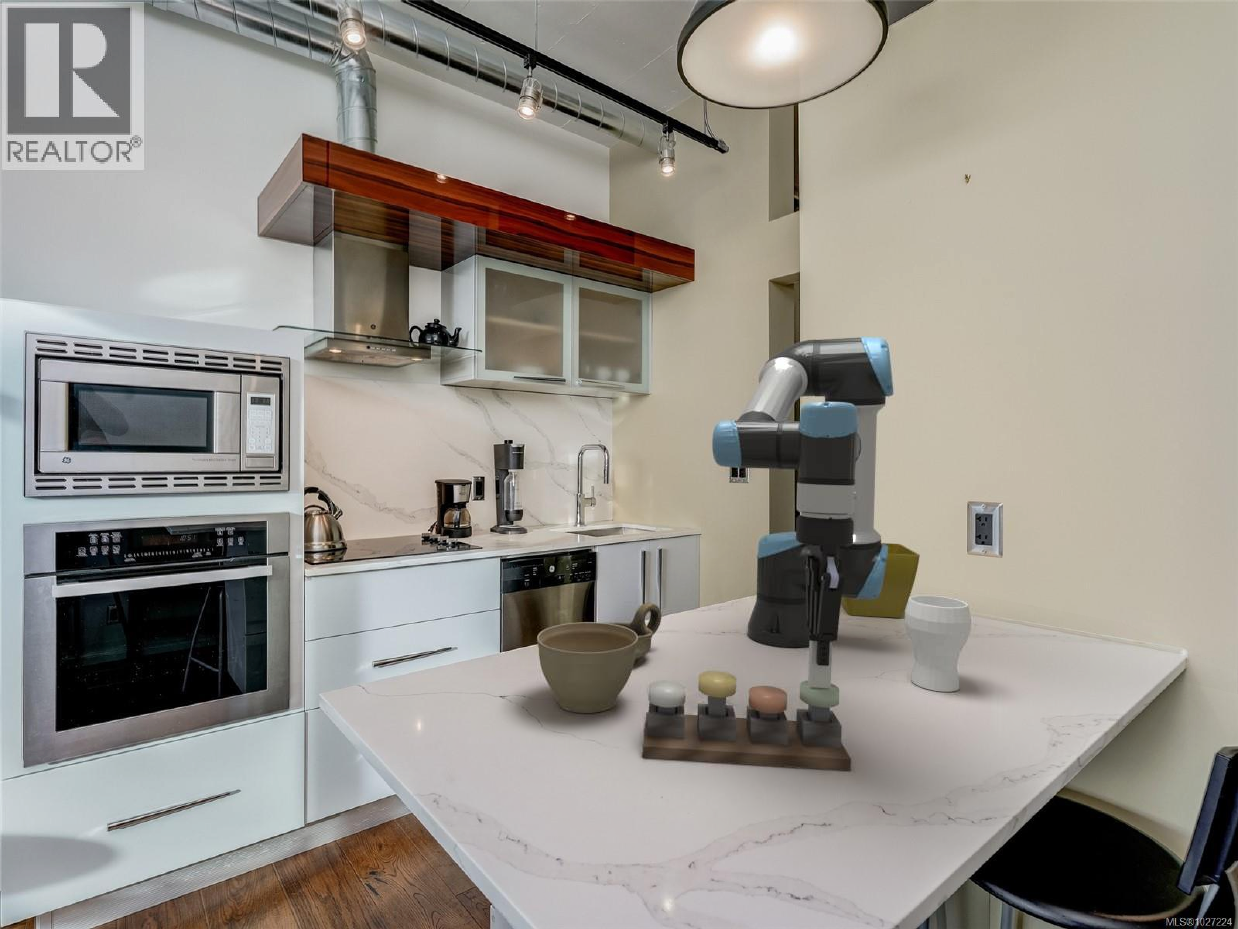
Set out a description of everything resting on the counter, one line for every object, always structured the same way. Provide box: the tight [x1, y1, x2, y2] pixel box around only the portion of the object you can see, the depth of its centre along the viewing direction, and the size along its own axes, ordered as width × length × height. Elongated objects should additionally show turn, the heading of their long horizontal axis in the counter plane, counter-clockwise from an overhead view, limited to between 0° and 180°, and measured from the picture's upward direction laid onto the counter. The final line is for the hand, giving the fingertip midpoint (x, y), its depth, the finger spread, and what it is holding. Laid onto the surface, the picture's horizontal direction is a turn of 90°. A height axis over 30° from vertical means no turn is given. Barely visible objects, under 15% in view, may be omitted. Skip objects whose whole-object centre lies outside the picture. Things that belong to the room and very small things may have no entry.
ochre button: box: [698, 670, 737, 716], centre depth 89 cm, size 5×5×5 cm
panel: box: [642, 702, 852, 771], centre depth 89 cm, size 27×11×4 cm, turn 85°
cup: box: [904, 594, 972, 693], centre depth 114 cm, size 11×11×15 cm
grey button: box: [647, 680, 686, 713], centre depth 90 cm, size 5×5×5 cm
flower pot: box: [841, 542, 920, 619], centre depth 166 cm, size 19×19×17 cm
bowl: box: [607, 602, 662, 660], centre depth 125 cm, size 14×18×10 cm
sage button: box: [799, 679, 840, 722], centre depth 88 cm, size 5×5×5 cm
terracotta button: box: [748, 685, 788, 719], centre depth 89 cm, size 5×5×5 cm
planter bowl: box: [536, 621, 638, 714], centre depth 103 cm, size 16×16×11 cm
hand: (819, 685), depth 88 cm, fingers closed
